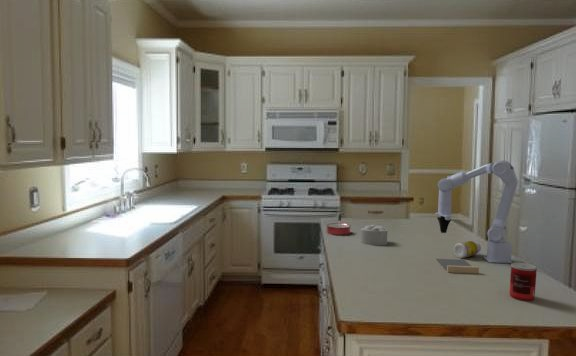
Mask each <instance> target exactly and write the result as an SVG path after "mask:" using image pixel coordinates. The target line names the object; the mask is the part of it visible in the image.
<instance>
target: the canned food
mask: <svg viewBox="0 0 576 356" xmlns="http://www.w3.org/2000/svg"><path fill="white" fill-rule="evenodd" d="M510 264H511V265H510V277H509V278H510V279H509V281H510V282H509V296H510V297H511V298H513V299H515V300H518V301H523V302H531V301H534V300H535V297H536V286H537V285H536V284H537V283H536V282H537V270H538V269H537V266H536V265H534V264H531V263H526V262H512V263H510Z"/></svg>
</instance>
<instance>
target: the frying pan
mask: <svg viewBox="0 0 576 356" xmlns="http://www.w3.org/2000/svg"><path fill="white" fill-rule="evenodd" d="M337 218H338V219H337V222H334V223H333V222H332V223H328V224H326V233H327V234H328V235H331V234H332V236H348V235H349V234H351V225H350V224H347V223H341V221H342V214H339V215H338V217H337Z"/></svg>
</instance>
